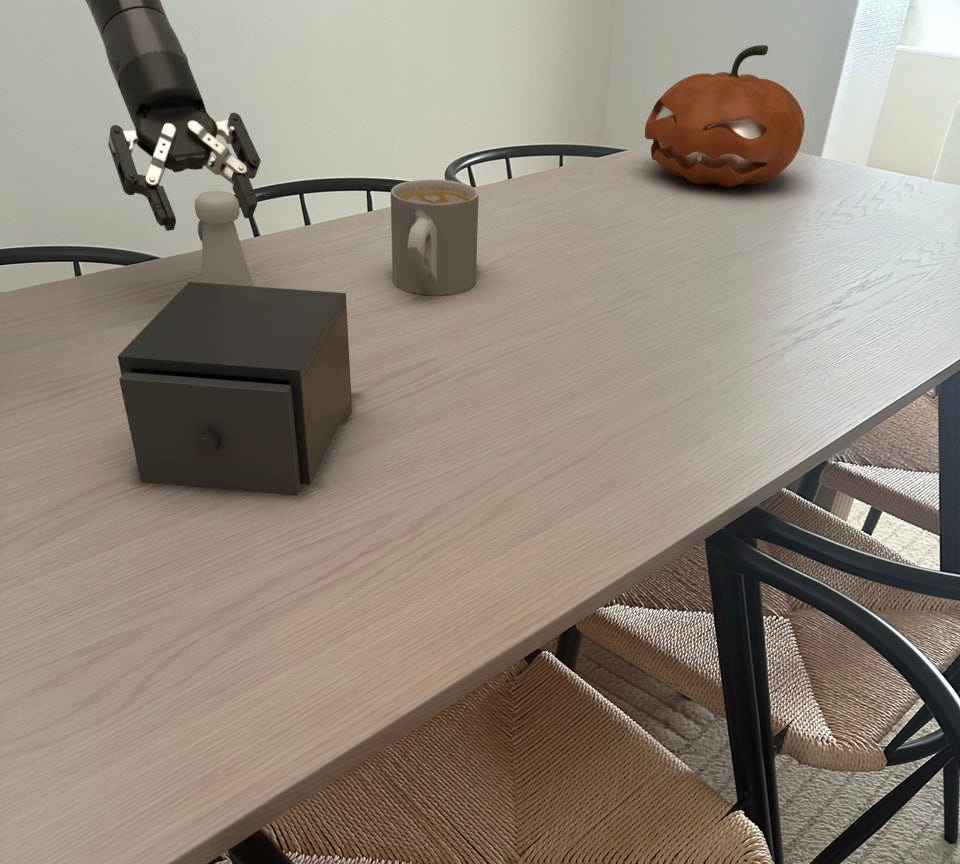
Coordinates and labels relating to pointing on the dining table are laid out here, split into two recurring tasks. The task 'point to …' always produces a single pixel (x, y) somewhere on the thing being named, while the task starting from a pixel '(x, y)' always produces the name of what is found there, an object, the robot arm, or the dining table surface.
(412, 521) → the dining table surface
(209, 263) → the salt shaker
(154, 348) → the dark grey drawer box
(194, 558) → the dining table surface
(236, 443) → the dark grey drawer
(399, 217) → the coffee mug
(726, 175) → the pumpkin
